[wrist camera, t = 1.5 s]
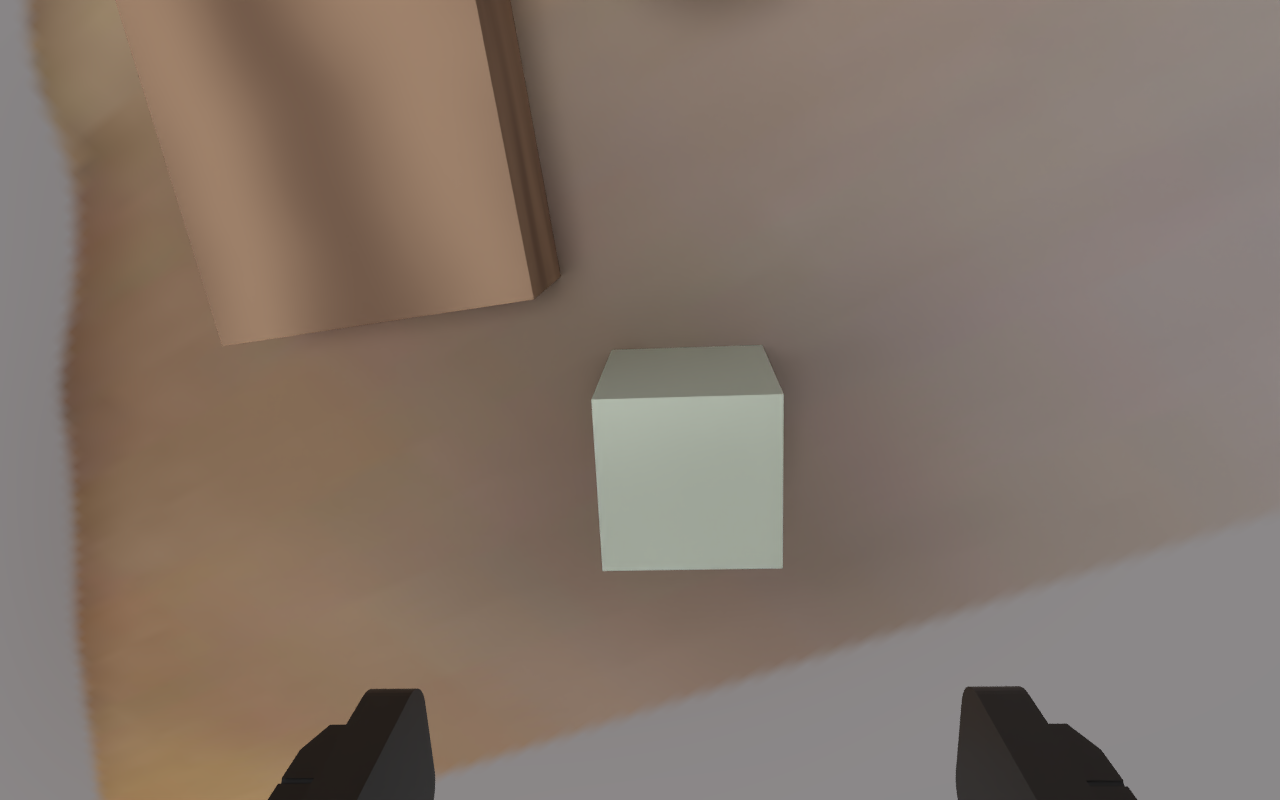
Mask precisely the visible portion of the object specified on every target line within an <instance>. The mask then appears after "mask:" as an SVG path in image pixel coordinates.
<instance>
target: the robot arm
mask: <svg viewBox="0 0 1280 800" xmlns="http://www.w3.org/2000/svg"><path fill="white" fill-rule="evenodd" d="M956 789H957V797H958V800H1137V799H1136V798H1135V796H1134V795H1133V793H1132V792H1131V791H1130V790H1129V788H1128V787H1125V786H1124V784H1123V779H1122V778H1121V777H1120V775H1119V774H1118V773H1117V771H1116V770H1115V768H1114V767H1113V766H1112V764H1111V763H1110V762H1109V760H1108V759H1107V757H1106V756H1105V755H1104V753H1103V752H1102V751H1101V749H1099V748H1098V747H1097V746H1095V745H1094V744H1093V743H1091V742H1090V741H1089V740H1087V739H1086V738H1085V737H1083V736H1082V735H1081V734H1080V733H1078V732H1077V731H1076V730H1074V729H1073V728H1071V727H1070V726H1069V725H1068V724H1048V723H1047V721H1046V720H1045V718H1044V717H1043V715H1042V714H1041V712H1040V711H1039V709H1038V708H1037V706H1036V705H1035V703H1034V702H1033V700H1032V699H1031V697H1030V696H1029V694H1028V693H1027V692H1026V690H1025V689H1024V688H1022V687H1019V686H1015V687H1014V686H1012V687H1010V686H1005V687H967V688H966V689H965V690H964V693H963V697H962V705H961V717H960V730H959V742H958V754H957V765H956ZM434 793H435V771H434V763H433V756H432V749H431V742H430V734H429V727H428V720H427V713H426V706H425V700H424V696H423V693H422V691H421V690H420V689H370V690H368V691H367V692H366V693H365V694H364V696H363V697H362V699H361V701H360V702H359V704H358V706H357V707H356V709H355V711H354V712H353V714H352V716H351V717H350V719H349V721H348V722H347V724H346V725H329V726H328V727H327V728H326V729H325V730H323V731H322V732H321V733H320V734H319V735H317V736H316V737H315V738H314V739H313V740H311V741H310V742H309V743H308V744H307V745H305V746H304V747H303V748H302V749H301V750H300V751H299V753H298V754H297V756H296V757H295V759H294V760H293V762H292V763H291V765H290V766H289V768H288V769H287V771H286V773H285V774H284V776H283V777H282V782H281V784H278V785H277V786H276V788H275V789H274V791H273V792H272V794H271V796H270V797H269V799H268V800H434Z"/></svg>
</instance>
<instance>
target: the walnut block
mask: <svg viewBox="0 0 1280 800" xmlns="http://www.w3.org/2000/svg"><path fill="white" fill-rule="evenodd" d="M115 1H116V4H117V8H118V11H119V14H120V17H121V20H122V24H123V27H124V30H125V33H126V37H127V40H128V43H129V46H130V50H131V53H132V56H133V59H134V63H135V66H136V69H137V72H138V76H139V79H140V82H141V85H142V89H143V92H144V95H145V98H146V101H147V105H148V108H149V111H150V114H151V118H152V121H153V124H154V127H155V131H156V134H157V137H158V140H159V144H160V147H161V150H162V153H163V157H164V160H165V163H166V166H167V170H168V173H169V176H170V179H171V183H172V186H173V189H174V192H175V195H176V199H177V202H178V205H179V208H180V212H181V215H182V218H183V221H184V225H185V228H186V231H187V234H188V238H189V241H190V244H191V247H192V251H193V254H194V257H195V260H196V264H197V267H198V270H199V273H200V276H201V280H202V283H203V286H204V289H205V293H206V296H207V299H208V302H209V306H210V309H211V312H212V315H213V319H214V322H215V325H216V328H217V332H218V335H219V338H220V341H221V345H222V346H227V345H234V344H241V343H247V342H254V341H261V340H267V339H274V338H281V337H287V336H294V335H301V334H307V333H314V332H321V331H327V330H334V329H341V328H347V327H354V326H361V325H367V324H374V323H381V322H387V321H394V320H401V319H407V318H414V317H421V316H427V315H434V314H441V313H447V312H454V311H461V310H467V309H474V308H480V307H487V306H494V305H500V304H507V303H514V302H520V301H527V300H534V299H535V298H536V297H537V296H538V295H540V294H541V293H542V292H543V291H544V290H545V289H547V288H548V287H549V286H550V285H551V284H552V283H554V282H555V281H556V280H557V279H558V278H559V277H560V276H561V274H560V269H559V263H558V258H557V252H556V247H555V242H554V236H553V231H552V225H551V220H550V214H549V209H548V203H547V198H546V193H545V187H544V182H543V176H542V171H541V165H540V160H539V154H538V149H537V144H536V138H535V133H534V127H533V122H532V116H531V111H530V105H529V100H528V95H527V89H526V84H525V78H524V73H523V67H522V62H521V56H520V51H519V46H518V40H517V35H516V29H515V24H514V18H513V13H512V7H511V2H510V0H115Z"/></svg>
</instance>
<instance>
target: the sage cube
mask: <svg viewBox="0 0 1280 800" xmlns="http://www.w3.org/2000/svg"><path fill="white" fill-rule="evenodd" d="M591 401H592V417H593V432H594V447H595V463H596V478H597V494H598V509H599V524H600V540H601V555H602V570H603V571H631V570H702V569H773V568H783V417H784V394H783V392H782V389H781V387H780V385H779V382H778V380H777V378H776V376H775V373H774V371H773V369H772V366H771V364H770V362H769V359H768V357H767V355H766V353H765V350H764V348H763V346H762V345H746V346H715V347H684V348H653V349H622V350H611V353H610V355H609V358H608V360H607V363H606V365H605V367H604V370H603V372H602V375H601V377H600V380H599V382H598V385H597V387H596V390H595V392H594V394H593V397H592V399H591Z"/></svg>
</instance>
